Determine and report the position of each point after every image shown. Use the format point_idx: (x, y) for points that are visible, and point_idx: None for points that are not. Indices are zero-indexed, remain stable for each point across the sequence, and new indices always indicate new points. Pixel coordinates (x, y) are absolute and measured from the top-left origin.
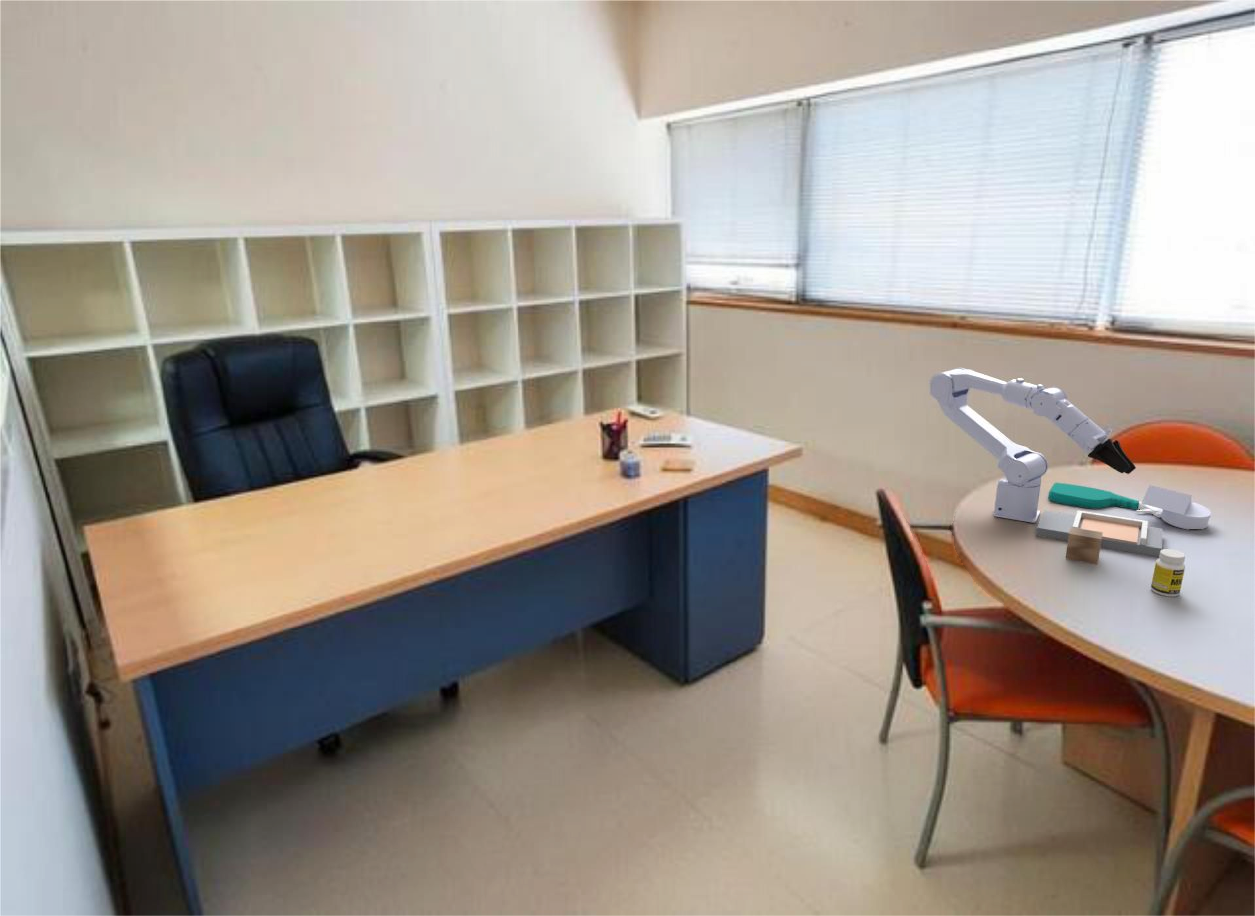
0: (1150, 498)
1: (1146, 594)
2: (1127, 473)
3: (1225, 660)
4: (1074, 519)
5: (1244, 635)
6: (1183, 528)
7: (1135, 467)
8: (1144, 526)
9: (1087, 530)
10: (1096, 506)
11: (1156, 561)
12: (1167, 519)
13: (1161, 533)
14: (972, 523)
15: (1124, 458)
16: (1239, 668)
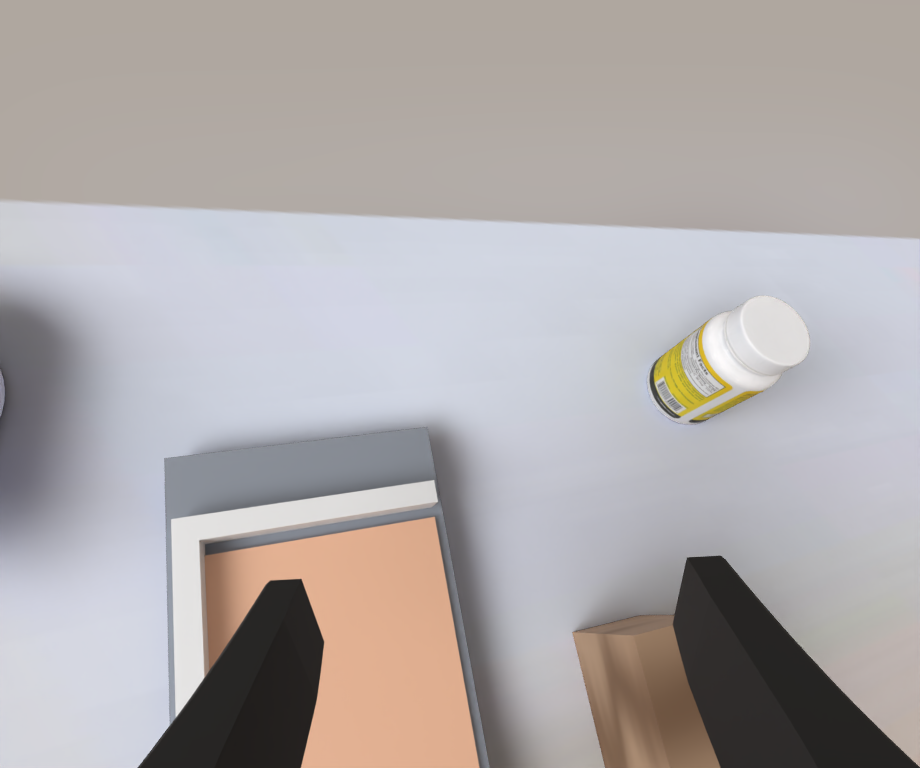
0: None
1: (733, 429)
2: (320, 649)
3: (879, 264)
4: None
5: (758, 233)
6: (3, 399)
7: (293, 582)
8: (270, 517)
9: (662, 710)
10: None
11: (766, 387)
12: None
13: (236, 453)
14: None
15: (239, 760)
16: (884, 245)
